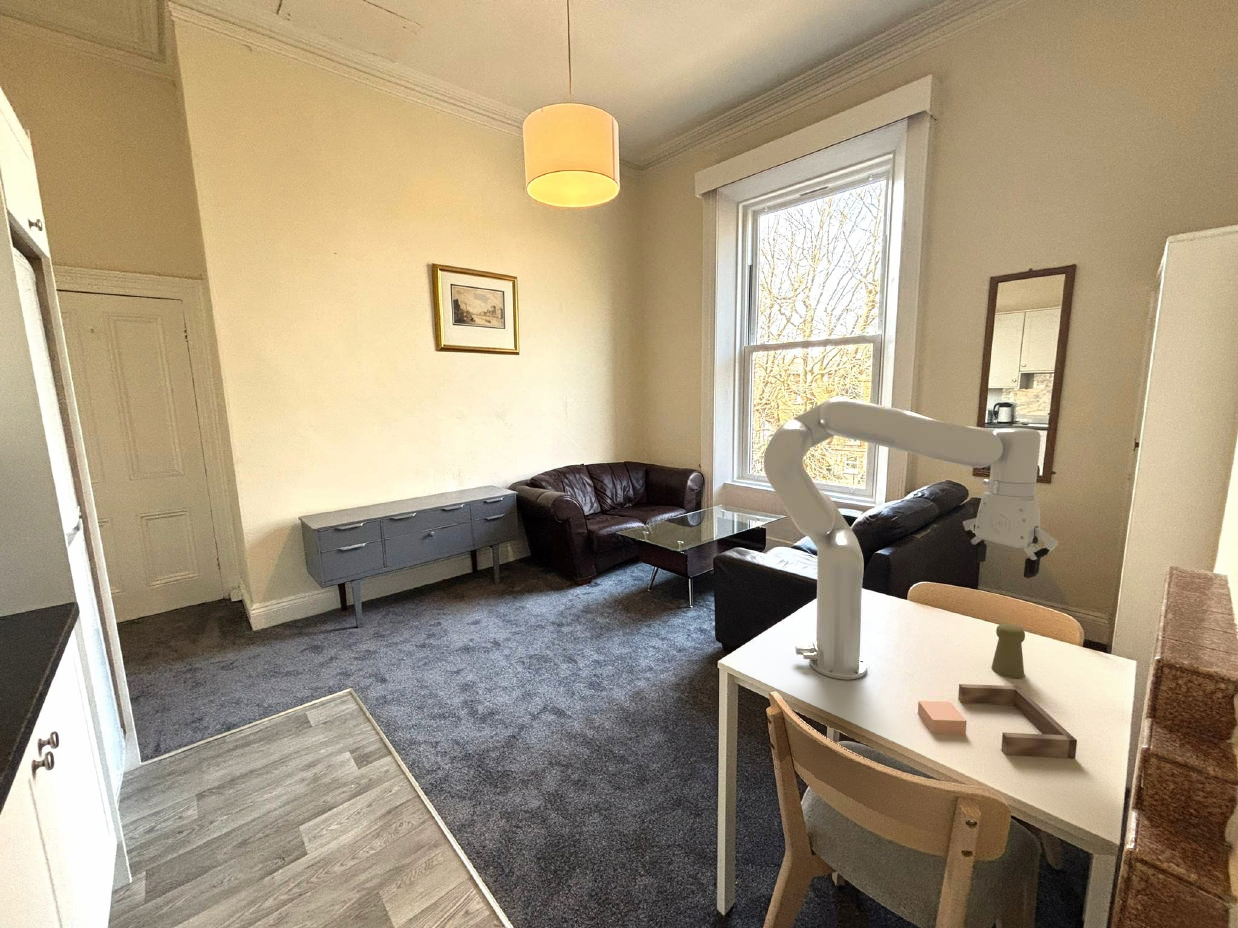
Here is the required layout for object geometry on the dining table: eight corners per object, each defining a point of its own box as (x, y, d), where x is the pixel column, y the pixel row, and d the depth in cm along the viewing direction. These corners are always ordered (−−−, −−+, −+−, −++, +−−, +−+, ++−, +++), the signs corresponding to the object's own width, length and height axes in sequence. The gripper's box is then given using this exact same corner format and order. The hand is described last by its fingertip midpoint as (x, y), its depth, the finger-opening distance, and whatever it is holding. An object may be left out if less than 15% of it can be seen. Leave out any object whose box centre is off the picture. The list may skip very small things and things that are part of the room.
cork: (1030, 679, 113) (1034, 633, 111) (999, 677, 114) (1002, 631, 113) (1015, 665, 119) (1018, 620, 117) (986, 663, 120) (989, 619, 118)
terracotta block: (932, 733, 98) (932, 719, 97) (917, 714, 104) (918, 700, 103) (965, 735, 97) (966, 720, 97) (949, 715, 103) (950, 701, 102)
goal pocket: (1005, 754, 91) (1006, 736, 91) (958, 699, 107) (959, 683, 107) (1075, 758, 90) (1077, 740, 89) (1016, 701, 106) (1018, 685, 105)
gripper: (956, 483, 110) (950, 559, 113) (1051, 499, 95) (1041, 586, 98) (978, 480, 114) (971, 554, 116) (1073, 494, 98) (1063, 579, 101)
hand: (1003, 568), depth 107 cm, fingers open, 9 cm apart
